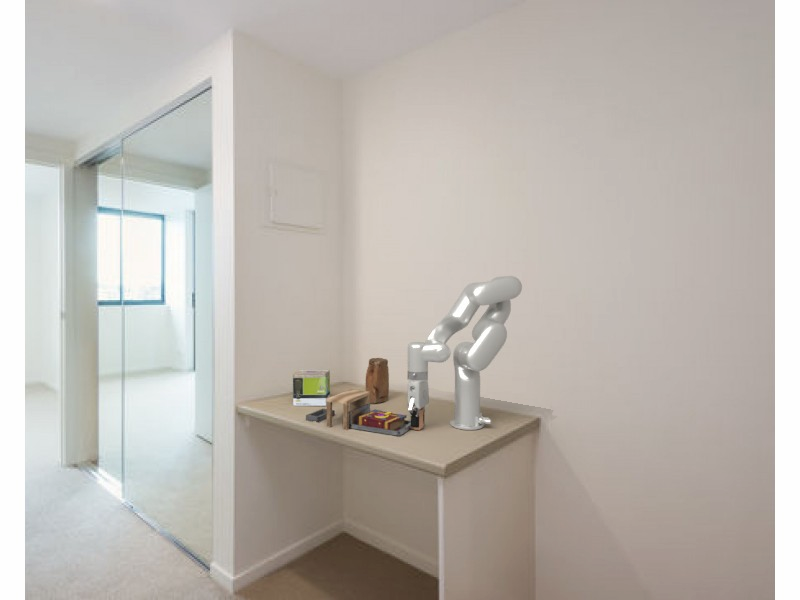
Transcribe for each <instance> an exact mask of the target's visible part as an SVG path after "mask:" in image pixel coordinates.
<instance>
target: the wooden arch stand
mask: <svg viewBox="0 0 800 600" xmlns="http://www.w3.org/2000/svg"><path fill="white" fill-rule="evenodd" d="M333 403H334V404H342V407H343V409H342V413H343V414H342V418H343V420H342V421H343V422H342V423H343V426H342V428H343V429H342V430H347V431H348V430H349V429H350V428H349V411H351V410H354V409H356V408H358V407H360V406H362V405H365V404H367V403H369V404H370V405H371V403H370V392H368V391H366V390H360V389H359V390H357V389H349V390H346V391H343V392H340V393H338V394H334V395H332V396H330V397H329V398H327V405H326V409H327V419H326V427H327V426H329V427H328V428H331V427H332V426H333V416H332V410H333Z"/></svg>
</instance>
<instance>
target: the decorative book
mask: <svg viewBox="0 0 800 600" xmlns="http://www.w3.org/2000/svg"><path fill="white" fill-rule="evenodd" d="M406 418H407V415H406V414H399V413H393V412H392V411H387V412H386V411H383V410H379V409H373V410H370V411H369V412H368V413H365V414H363V415H360V416H358V420H357V421H358V425H364V426H370V427H376V428H383V429H389V430H395V431H398V430H399V429H401V428H402V427H404V426H406V424H405V420H406Z"/></svg>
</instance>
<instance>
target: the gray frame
mask: <svg viewBox="0 0 800 600" xmlns="http://www.w3.org/2000/svg"><path fill="white" fill-rule="evenodd" d="M335 412H336V411H335V410H334V409H332V417H334V416H335ZM307 420H308V422H313V421H316V422H315V423H319V421H320V422H322V421H325V420H327V408H321V409H318V410H315V411H313V412H311V413H309V414H306V415H305V421H307Z"/></svg>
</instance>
